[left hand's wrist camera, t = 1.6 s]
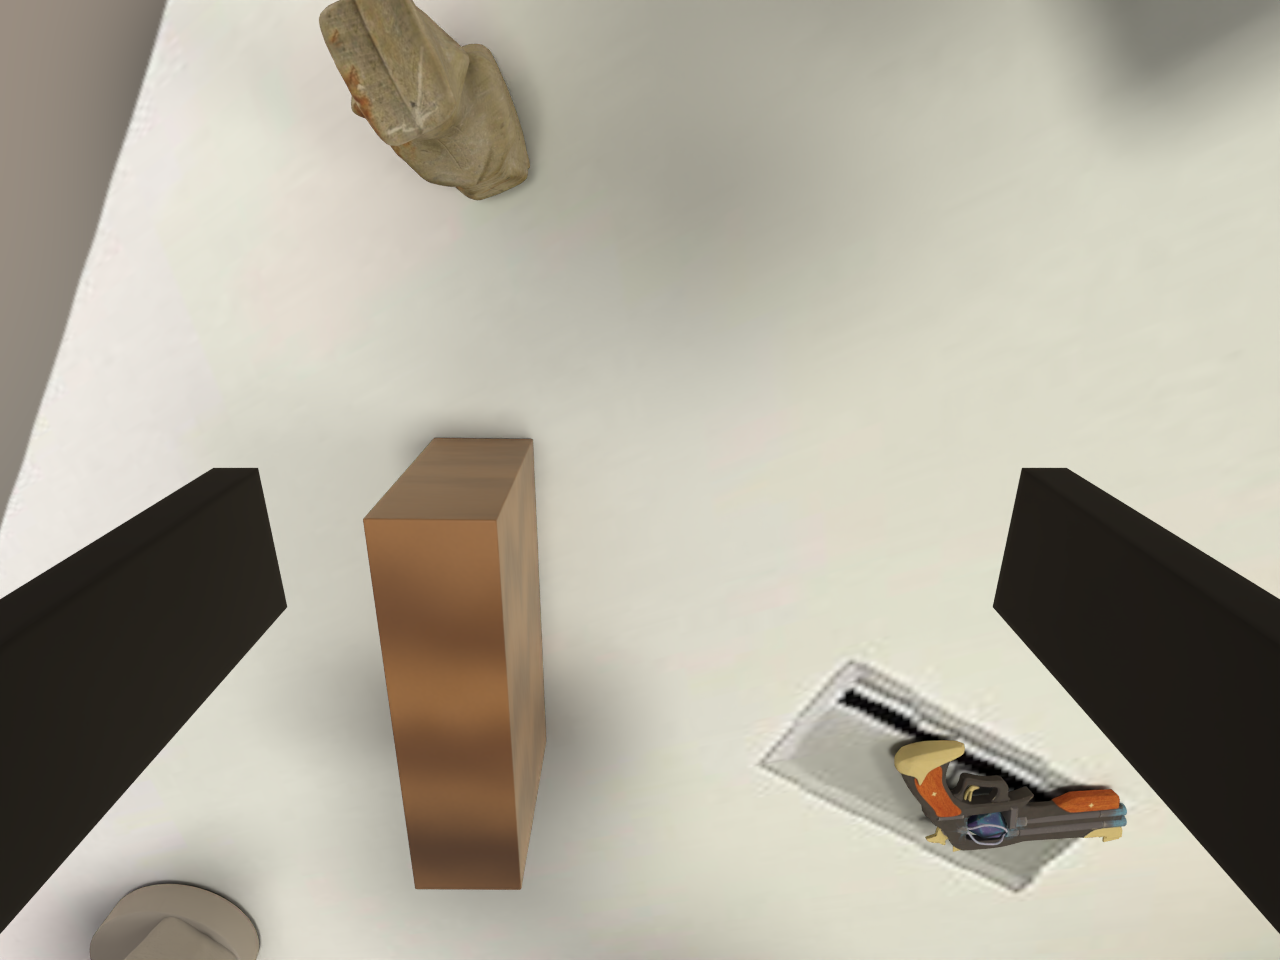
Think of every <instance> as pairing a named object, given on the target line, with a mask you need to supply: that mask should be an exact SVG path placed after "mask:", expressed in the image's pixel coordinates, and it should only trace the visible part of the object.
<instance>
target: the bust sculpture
mask: <svg viewBox="0 0 1280 960" xmlns="http://www.w3.org/2000/svg"><path fill="white" fill-rule="evenodd" d="M258 951H259V939H258V935H257V932H256V930H255V928H254V926H253V924H252V923H251V921H250V920H249V919H248V917H247V916H246V915H245V914H244V913H243V912H242V911H241V910H240V909H239V908H238V907H236V906H235V905H234V904H232V903H231V902H229V901H228V900H226V899H224V898H223V897H221V896H219V895H216V894H214V893H212V892H209V891H207V890H204V889H200V888H197V887H193V886H187V885H181V884H157V885H151V886H146V887H143V888H140V889H137V890H135V891H133V892H131V893H129V894H128V895H126V896H125V897H123V898H122V899H121V900H120V901H119V902H118V903H117V905H116V906H115V907H114V909H113V910H112V911H111V913H110V914H109V915H108V917H107V918H106V919H105V921H104V922H103V923H102V925H101V926H100V928H99V929H98V930H97V932H96V933H95V934H94V936H93V938H92V941H91V944H90V958H91V960H256V958H257V955H258Z"/></svg>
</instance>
